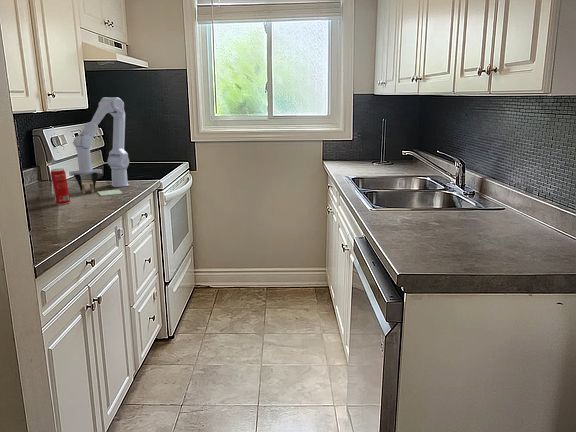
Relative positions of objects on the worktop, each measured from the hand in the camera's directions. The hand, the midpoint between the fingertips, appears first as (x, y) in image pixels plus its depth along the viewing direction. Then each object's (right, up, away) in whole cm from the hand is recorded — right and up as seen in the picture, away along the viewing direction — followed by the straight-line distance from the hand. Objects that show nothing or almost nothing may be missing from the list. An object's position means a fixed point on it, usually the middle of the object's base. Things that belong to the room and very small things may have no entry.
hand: (87, 189), depth 237 cm
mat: (+11, -2, -1) cm, 11 cm away
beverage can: (-2, -7, -23) cm, 24 cm away
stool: (0, -1, 0) cm, 1 cm away
